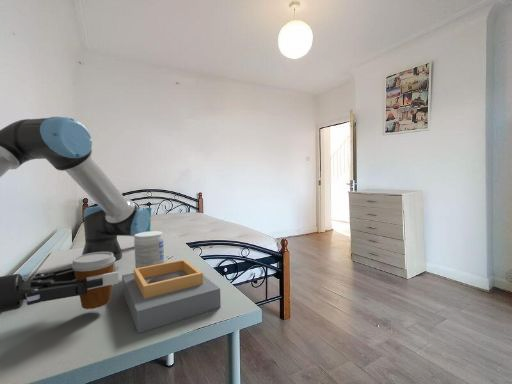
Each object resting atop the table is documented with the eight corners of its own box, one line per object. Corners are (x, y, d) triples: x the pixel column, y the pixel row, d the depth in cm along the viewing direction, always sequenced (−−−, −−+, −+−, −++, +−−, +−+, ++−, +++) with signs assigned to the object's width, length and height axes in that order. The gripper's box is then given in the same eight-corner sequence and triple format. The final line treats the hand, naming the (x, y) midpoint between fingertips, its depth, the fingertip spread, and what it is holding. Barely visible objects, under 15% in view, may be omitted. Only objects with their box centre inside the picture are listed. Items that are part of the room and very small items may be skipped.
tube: (136, 246, 131) (134, 208, 130) (138, 244, 136) (137, 207, 135) (152, 245, 133) (150, 208, 132) (153, 243, 138) (152, 207, 137)
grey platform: (121, 286, 82) (119, 262, 81) (183, 273, 93) (182, 251, 93) (138, 333, 57) (136, 297, 57) (220, 307, 68) (219, 277, 68)
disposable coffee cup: (69, 316, 60) (66, 265, 59) (78, 298, 69) (75, 254, 68) (116, 307, 64) (113, 259, 63) (119, 291, 72) (117, 249, 72)
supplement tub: (167, 275, 91) (166, 234, 90) (138, 281, 86) (136, 237, 85) (160, 267, 99) (159, 229, 98) (133, 273, 94) (131, 233, 93)
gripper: (9, 294, 65) (113, 273, 77) (-18, 336, 47) (121, 301, 60) (7, 264, 64) (111, 248, 77) (-21, 296, 47) (120, 269, 59)
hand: (116, 271), depth 68 cm, fingers closed on disposable coffee cup, 8 cm apart
